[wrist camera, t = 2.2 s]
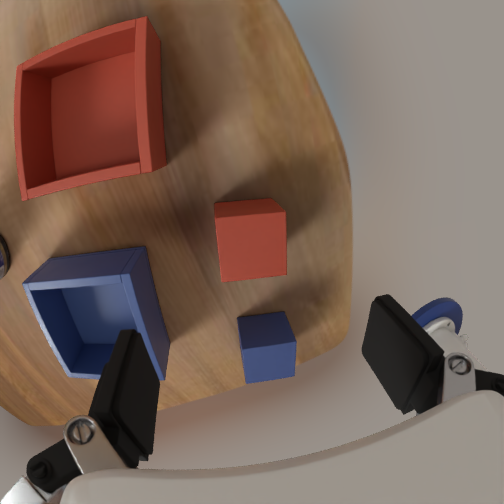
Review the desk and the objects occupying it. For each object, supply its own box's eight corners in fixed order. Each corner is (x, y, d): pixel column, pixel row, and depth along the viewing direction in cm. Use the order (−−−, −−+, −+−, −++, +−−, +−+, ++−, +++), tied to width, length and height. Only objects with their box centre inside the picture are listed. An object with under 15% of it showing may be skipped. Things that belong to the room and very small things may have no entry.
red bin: (160, 41, 17) (147, 15, 12) (167, 165, 21) (152, 171, 16) (48, 75, 16) (16, 66, 10) (55, 188, 20) (21, 201, 15)
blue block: (284, 311, 28) (296, 341, 24) (283, 345, 30) (294, 376, 26) (236, 317, 28) (242, 349, 23) (240, 351, 30) (246, 383, 25)
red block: (271, 197, 24) (286, 211, 19) (273, 250, 26) (287, 275, 21) (214, 202, 23) (214, 218, 18) (219, 256, 25) (221, 282, 20)
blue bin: (145, 245, 24) (129, 273, 18) (170, 343, 28) (165, 380, 23) (48, 258, 22) (21, 283, 17) (83, 345, 27) (68, 377, 22)
